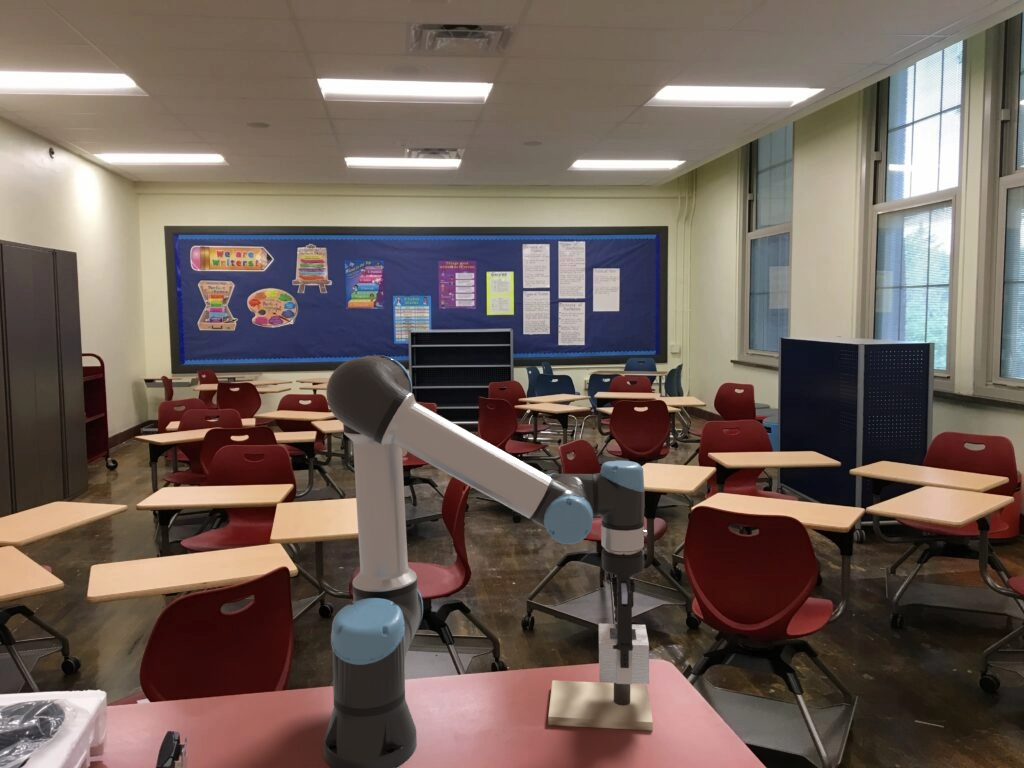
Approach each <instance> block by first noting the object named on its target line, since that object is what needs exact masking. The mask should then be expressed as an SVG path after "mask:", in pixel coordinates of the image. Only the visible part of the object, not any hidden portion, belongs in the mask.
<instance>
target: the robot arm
mask: <svg viewBox="0 0 1024 768" xmlns="http://www.w3.org/2000/svg"><path fill="white" fill-rule="evenodd" d="M412 384H413V382H412V379H411V376H410V374H409V371H407V369H406V368H405V366H404V365H403V364H401V363H400V362H399V361H397V360H396V359H394V358H392V357H389V356H386V355H383V354H382V355H381V354H380V355H378V354H377V355H376V354H373V355H365V356H362V357H358V358H356V357H355V358H352V359H349V360H347V361H345V362H343V363H342V364H340V365H339V366H337V368H336V369H334V371H333V373H332V374H330V377H329V380H328V382H327V384H326V391H325V392H326V393H325V394H326V401H327V405H328V407H329V409H330V412H331V413H332V414H333V415H334V417H335V418H336V419H337V420H338V421H339V422H341V423H342V425H343V435H345V436H346V438H349V440H350V441H352V445H353V446H352V447H353V464H354V466H353V467H354V481H355V498H356V499H355V501H356V515H357V517H356V518H357V531H358V532H357V533H358V534H357V535H358V549H359V550H358V551H359V553H358V554H359V566H360V567H359V569H360V571H359V572H358V573H357V575H356V576H355V577H354V578H353V580H352V593H353V594H352V597H353V603H352V604H346V605H345V606H344V607H342V608H341V609H339V610H338V612H337V613H336V615H335V616H334V618H333V620H332V624H331V631H330V632H331V633H330V646H331V656H332V657H331V659H332V661H331V662H332V687H333V688H332V689H333V707H332V712H331V715H330V718H329V721H328V725H327V728H326V732H325V735H324V738H323V756H324V760H325V762H326V763H327V764H328V766H329V767H331V768H397V767H399V766H401V765H402V764H404V763H405V762H407V761H408V760H409V759H410V758H411V757H412V756H413V754H414V752H415V751H416V749H417V743H418V740H417V738H418V737H417V736H418V735H417V729H416V725H415V722H414V718H413V716H412V714H411V711H410V708H409V705H408V704H407V703H408V702H407V700H406V681H405V680H406V678H405V676H406V673H405V670H406V669H405V663H406V657H407V653H408V651H409V649H410V646H411V645H412V641H413V639H414V638H415V637H414V636H415V634H416V633H417V632H418V630H419V628H420V625H421V623H422V620H423V616H424V615H423V614H424V601H423V598H422V594H421V592H420V590H419V589H418V576H417V573H416V572H415V571H414V570H413V569H412V568H410V567H409V563H408V562H409V561H408V560H409V559H408V542H407V540H408V539H407V525H406V524H407V523H406V521H407V519H406V505H405V504H406V503H405V501H406V500H405V484H404V483H405V482H404V467H403V466H404V465H403V450H404V451H405V452H407V453H409V454H411V455H413V456H415V457H417V458H418V459H420V460H422V461H424V462H425V463H427V464H429V465H431V466H433V467H434V468H436V469H438V470H440V471H442V472H444V473H445V474H447V475H449V476H451V477H453V478H455V479H456V480H459V481H460V482H462V483H464V484H465V485H467V486H469V487H470V488H473V489H475V490H476V491H478V492H480V493H481V494H483V495H486V496H488V497H489V498H491V499H493V500H495V501H496V502H498V503H500V504H502V505H504V506H506V507H507V508H508V509H511V510H513V511H514V512H516V513H519V514H520V515H521V516H523V517H526V518H527V519H529V520H531V521H532V522H534V523H536V524H538V525H539V526H541V527H543V528H544V529H545V530H546V532H547V533H548V535H549V536H550V537H551V539H553V540H554V541H556V542H558V543H559V544H562V545H575V544H577V543H580V542H582V541H584V539H586V538H587V537H588V535H589V534H590V532H591V530H592V528H593V527H592V526H593V519H594V517H601V524H600V525H601V527H600V535H601V536H600V537H601V539H600V540H601V541H600V542H601V547H602V549H601V569H602V570H603V571H604V572H605V573H608V574H610V575H614V576H611V592H612V597H613V607H614V611H613V614H614V618H613V619H614V623H615V624H617V644H616V645H613V649H616V684H633V683H632V650H633V645H632V624H633V612H632V611H633V607H634V605H635V603H634V592H635V590H636V589H635V587H636V586H635V585H636V584H635V582H634V581H635V579H634V577H632V576H634V575H638V574H639V575H640V574H641V573H642V572H643V571H644V569H645V551H644V550H643V548H644V547H645V543H644V542H645V538H644V536H645V537H646V536H647V535H648V530H646V529H645V490H646V489H645V480H644V479H645V478H644V469H643V467H642V466H641V464H640V463H638V462H635V461H630V460H611V461H610V460H609V461H605V462H603V463H602V465H601V469H600V472H599V473H598V472H597V473H556V472H553V473H544V472H543V471H540V470H539V469H538V468H535V467H533V466H531V465H530V464H528V463H526V462H524V461H522V460H520V459H519V458H517V457H515V456H514V455H512V454H511V453H509V452H506V451H504V450H503V449H501V448H499V447H498V446H495V445H493V444H491V442H488V441H486V440H485V439H482V438H481V437H479V436H477V435H476V434H473V433H472V432H470V431H468V430H467V429H465V428H463V427H461V426H459V425H458V424H456V423H454V422H452V421H450V420H449V419H446V418H445V417H443V416H442V415H439V414H438V413H435V412H434V411H432V410H430V409H429V408H427V407H425V406H424V405H421V404H420V403H417V401H416V399H415V395H414V393H412V392H413V385H412Z"/></svg>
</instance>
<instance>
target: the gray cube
mask: <svg viewBox="0 0 1024 768" xmlns="http://www.w3.org/2000/svg"><path fill="white" fill-rule="evenodd" d="M616 644H617V623H598V667H599V668H598V669H599V670H598V671H599V672H598V673H599V676H598V677H599V678H598V679H599V680H598V682H599V683H616V649H613V645H616ZM632 645H633V650H632V684H641V685H649V684H650V644H649V637H648V633H647V627H646V624H633V623H632Z"/></svg>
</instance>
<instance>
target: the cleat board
mask: <svg viewBox="0 0 1024 768" xmlns="http://www.w3.org/2000/svg"><path fill="white" fill-rule="evenodd" d="M550 689H551V691H550V700H549V707H548V708H549V709H548V717H547V718H548V719H547V720H548V723H547V724H548V726H562V727H580V728H599V729H614V730H615V729H617V730H620V729H621V730H635V731H637V730H639V731H653V729H654V727H653V726H654V722H653V715H652V714H653V713H652V708H651V701H650V696H649V695H650V694H649V687H648V684H635V683H632V684H616V683H608V682H599V681H597V682H595V681H573V680H556V679H554V680H553V679H552V681H551V688H550Z"/></svg>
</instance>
